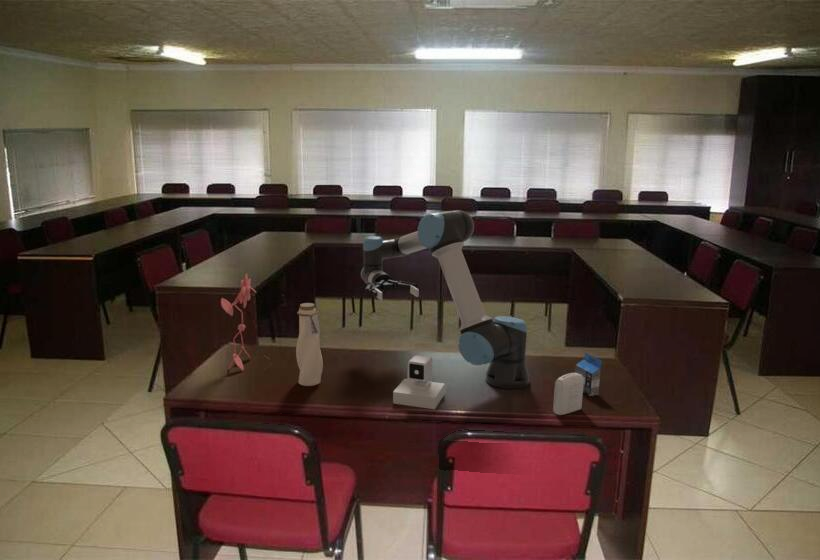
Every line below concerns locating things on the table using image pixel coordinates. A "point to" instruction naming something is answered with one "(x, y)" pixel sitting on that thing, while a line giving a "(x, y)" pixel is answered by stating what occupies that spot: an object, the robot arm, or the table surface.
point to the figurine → (228, 308)
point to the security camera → (420, 372)
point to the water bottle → (309, 346)
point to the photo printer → (568, 393)
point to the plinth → (418, 395)
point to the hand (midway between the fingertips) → (399, 294)
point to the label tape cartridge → (589, 374)
